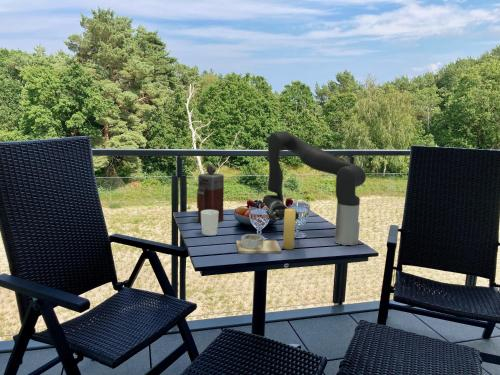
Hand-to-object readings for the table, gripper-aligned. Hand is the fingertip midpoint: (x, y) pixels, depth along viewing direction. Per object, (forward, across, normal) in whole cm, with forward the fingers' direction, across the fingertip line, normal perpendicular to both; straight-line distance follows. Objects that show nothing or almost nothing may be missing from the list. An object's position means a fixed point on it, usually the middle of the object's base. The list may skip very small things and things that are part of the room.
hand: (284, 219), depth 187 cm
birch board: (+11, -12, +9) cm, 19 cm away
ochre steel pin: (+11, 0, +9) cm, 14 cm away
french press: (-28, -32, +9) cm, 44 cm away
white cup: (-9, -32, +9) cm, 35 cm away
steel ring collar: (+11, -15, +8) cm, 20 cm away
